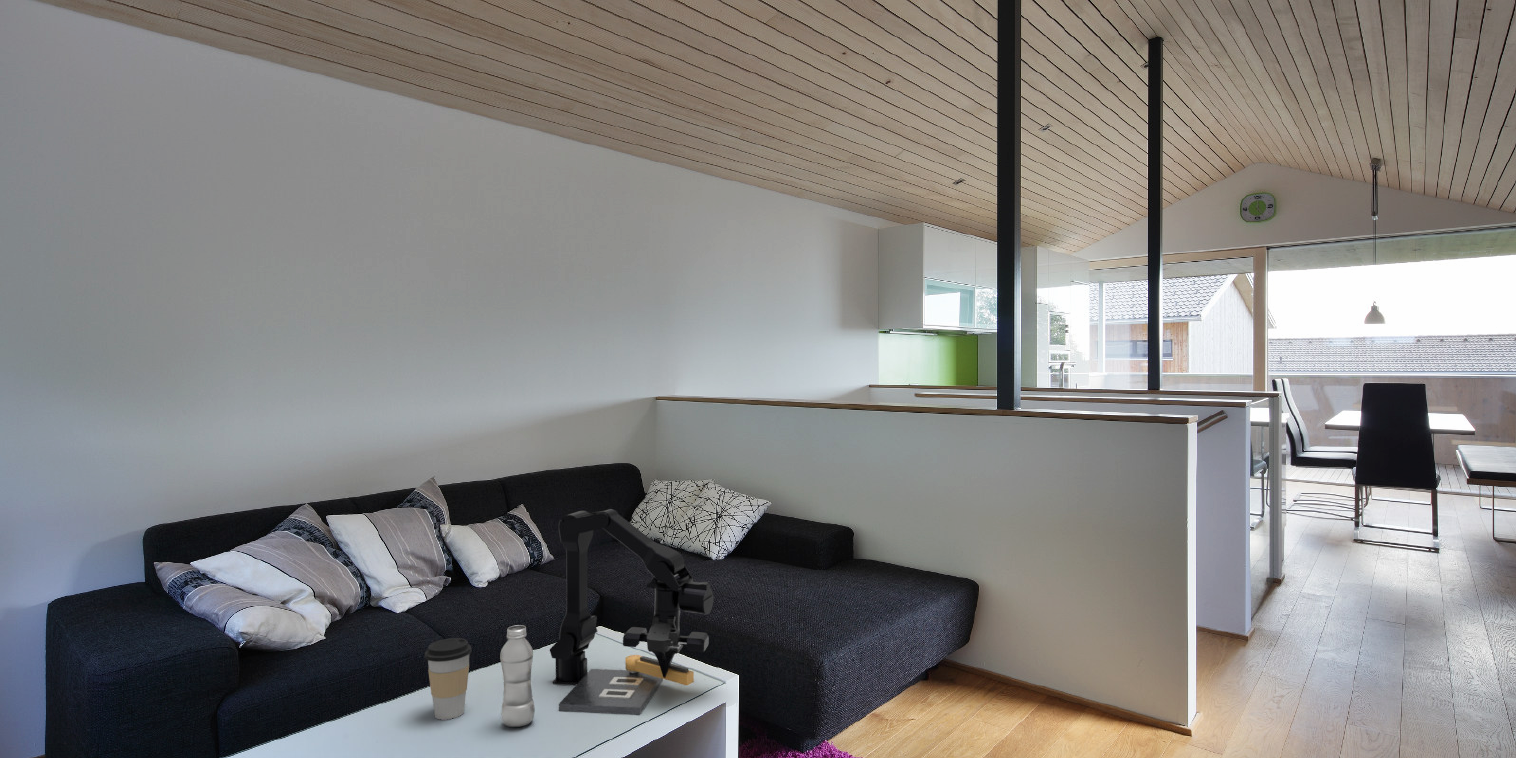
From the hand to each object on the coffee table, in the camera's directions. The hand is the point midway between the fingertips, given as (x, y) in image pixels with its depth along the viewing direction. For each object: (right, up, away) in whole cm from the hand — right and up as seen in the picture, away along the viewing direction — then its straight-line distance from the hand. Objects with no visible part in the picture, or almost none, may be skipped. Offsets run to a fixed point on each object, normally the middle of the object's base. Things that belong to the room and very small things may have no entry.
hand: (664, 677), depth 174 cm
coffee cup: (-45, -4, -10) cm, 46 cm away
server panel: (-12, -4, 0) cm, 12 cm away
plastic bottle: (-29, -4, -15) cm, 33 cm away
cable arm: (-2, -1, +4) cm, 5 cm away
